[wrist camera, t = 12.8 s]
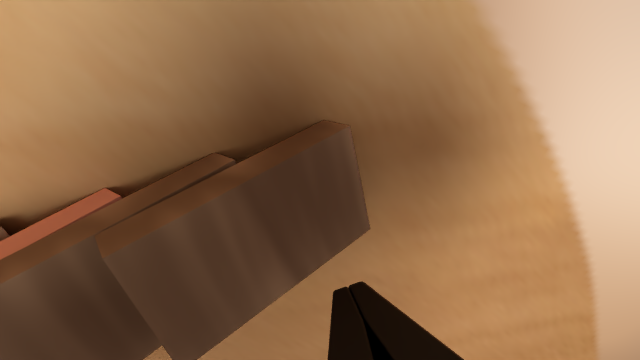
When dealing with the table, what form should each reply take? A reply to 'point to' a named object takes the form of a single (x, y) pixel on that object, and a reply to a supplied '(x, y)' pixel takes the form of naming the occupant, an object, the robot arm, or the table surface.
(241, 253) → the domino
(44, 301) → the domino
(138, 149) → the table surface
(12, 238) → the domino
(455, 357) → the robot arm
